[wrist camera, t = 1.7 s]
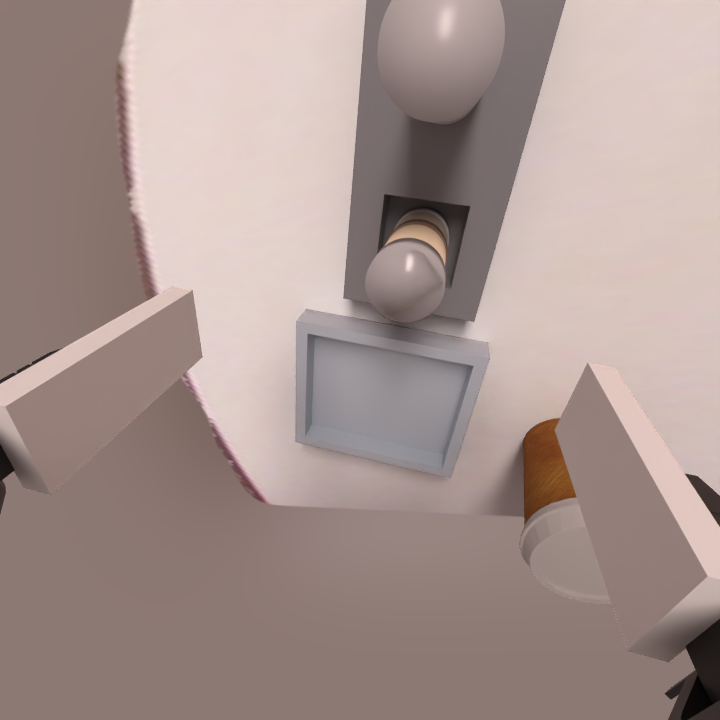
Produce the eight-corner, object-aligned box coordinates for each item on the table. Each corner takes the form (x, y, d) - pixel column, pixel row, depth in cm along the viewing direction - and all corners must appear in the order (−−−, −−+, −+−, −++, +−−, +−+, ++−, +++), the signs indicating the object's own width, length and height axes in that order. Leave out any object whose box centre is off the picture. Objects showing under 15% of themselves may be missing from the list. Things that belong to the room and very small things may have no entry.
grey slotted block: (555, 8, 21) (673, -141, 9) (472, 306, 31) (481, 414, 19) (378, -4, 23) (291, -148, 11) (352, 285, 32) (291, 374, 20)
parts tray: (487, 342, 32) (489, 357, 30) (450, 459, 40) (450, 478, 37) (306, 309, 34) (296, 320, 32) (303, 426, 42) (295, 441, 40)
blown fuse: (455, 210, 27) (453, 252, 18) (443, 265, 29) (436, 328, 20) (399, 202, 28) (369, 239, 18) (391, 257, 30) (361, 315, 21)
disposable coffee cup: (504, 478, 39) (519, 597, 29) (506, 402, 35) (525, 514, 25) (609, 483, 37) (666, 616, 27) (627, 403, 32) (703, 527, 22)
